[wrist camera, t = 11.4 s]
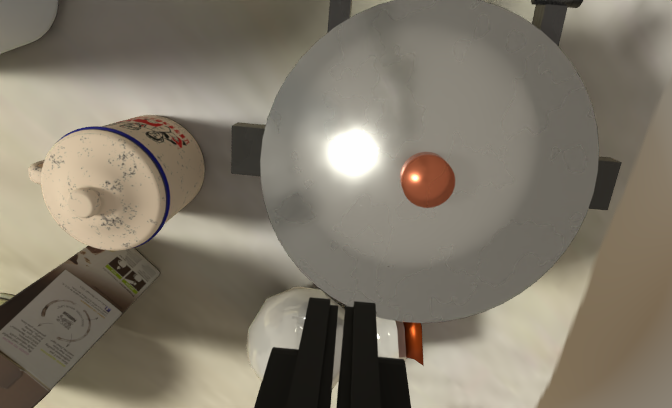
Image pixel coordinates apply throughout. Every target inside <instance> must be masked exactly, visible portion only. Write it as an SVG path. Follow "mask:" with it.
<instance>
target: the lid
mask: <svg viewBox="0 0 672 408" xmlns="http://www.w3.org/2000/svg"><path fill="white" fill-rule="evenodd" d="M598 159H599V143H598V131H597V124H596V120H595V115H594V111H593V107H592V104H591V101H590V98H589V96H588V93H587V91H586V88H585V86H584V83H583V82H582V80H581V78H580V76H579V75H578V73H577V71H576V69H575V68H574V66H573V64H572V63H571V62H570V60H569V59H568V58H567V57H566V55H565V54H564V53H563V52H562V50H561V49H560V48H559V47H558V46H557V45H556V44H555V43H554V42H553V41H552V40H551V39H550V38H549V37H548V36H547V35H546V34H544V33H543V32H542V31H541V30H540V29H538V28H537V27H536V26H534V25H533V24H531V23H530V22H528V21H527V20H525V19H524V18H522V17H521V16H519V15H517V14H515V13H512V12H510V11H508V10H506V9H504V8H502V7H500V6H497V5H494V4H491V3H487V2H484V1H481V0H394V1H390V2H387V3H383V4H379V5H377V6H374V7H372V8H370V9H367V10H365V11H363V12H360V13H358V14H356V15H354V16H353V17H351V18H349V19H347V20H346V21H344V22H342V23H341V24H339V25H337V26H336V27H334V28H333V29H332V30H331V31H329V32H328V33H327V34H326V35H324V36H323V37H322V38H321V39H319V40H318V41H317V42H316V43H315V44H314V45H313V46H312V47H311V48H310V49H309V50H308V51H307V52H306V53H305V54H304V55H303V56H302V57H301V58H300V60H299V61H298V62H297V64H296V65H295V67H294V68H293V69H292V71H291V72H290V73H289V75H288V76H287V77H286V79H285V81H284V83H283V85H282V87H281V88H280V90H279V92H278V94H277V96H276V98H275V100H274V103H273V105H272V108H271V111H270V113H269V116H268V119H267V123H266V127H265V131H264V135H263V139H262V149H261V159H260V167H261V185H262V191H263V197H264V203H265V206H266V209H267V213H268V216H269V219H270V222H271V224H272V227H273V229H274V231H275V233H276V235H277V238H278V240H279V241H280V243H281V245H282V246H283V248H284V249H285V251H286V253H287V254H288V256H289V257H290V258H291V260H292V261H293V262H294V263H295V265H296V266H297V267H298V268H299V270H300V271H301V272H302V273H303V274H304V275H305V276H306V277H307V278H308V279H310V280H311V281H312V282H313V283H314V284H315V285H316V286H317V287H319V288H320V289H321V290H323V291H324V292H325V293H327V294H328V295H329V296H331V297H333V298H334V299H336V300H338V301H340V302H341V303H343V304H345V305H347V306H349V307H353V306H354V301H358V302H370V303H375V304H376V317H379V318H383V319H388V320H394V321H400V322H412V323H432V322H445V321H450V320H456V319H461V318H465V317H469V316H472V315H475V314H479V313H482V312H484V311H487V310H489V309H491V308H494V307H496V306H498V305H501V304H503V303H504V302H506V301H508V300H510V299H511V298H513V297H515V296H517V295H518V294H520V293H521V292H523V291H524V290H525V289H527V288H528V287H530V286H531V285H532V284H534V283H535V282H536V281H537V280H538V279H540V278H541V277H542V276H543V275H544V274H545V273H546V272H547V271H548V270H549V269H550V268H551V267H552V266H553V265H554V264H555V263H556V261H557V260H558V259H559V258H560V257H561V256H562V254H563V253H564V252H565V251H566V249H567V248H568V246H569V245H570V243H571V242H572V240H573V239H574V237H575V235H576V234H577V232H578V230H579V228H580V226H581V224H582V222H583V220H584V218H585V216H586V214H587V211H588V208H589V205H590V202H591V199H592V196H593V193H594V188H595V183H596V178H597V173H598Z"/></svg>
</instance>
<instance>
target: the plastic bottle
mask: <svg viewBox="0 0 672 408" xmlns="http://www.w3.org/2000/svg"><path fill="white" fill-rule="evenodd" d="M57 9H58V0H0V54H1V53H4V52H7V51H10V50H12V49H15V48H18V47H20V46H23V45H26V44H29V43H31V42H34V41H36V40H37V39H39V38H40V37H42V36H43V35H44V34H45V33H46V32H47V31H48V30H49V28H50V27H51V25H52V24H53V22H54V20H55V17H56V14H57Z"/></svg>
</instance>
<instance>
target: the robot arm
mask: <svg viewBox="0 0 672 408" xmlns="http://www.w3.org/2000/svg"><path fill="white" fill-rule="evenodd" d="M330 303H331V299H324V298H313V297H310V298H309V302H308V307H307V311H306V316H305V321H304V326H303V331H302V335H301V340H300V345H299V349H289V348H278V347H273V348H272V350H271V353H270V356H269V359H268V363H267V366H266V370H265V373H264V376H263V380H262V383H261V387H260V390H259V393H258V397H257V400H256V403H255V407H254V408H330V405H331V393H332V380H333V368H334V355H335V343H336V331H337V318H338V305H330ZM337 408H411V404H410V396H409V389H408V381H407V373H406V366H405V361H404V359H398V358H387V357H378V343H377V323H376V304H375V303H370V302H358V301H354V306H353V307H349V306H345V315H344V327H343V338H342V350H341V361H340V373H339V385H338V397H337Z"/></svg>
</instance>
